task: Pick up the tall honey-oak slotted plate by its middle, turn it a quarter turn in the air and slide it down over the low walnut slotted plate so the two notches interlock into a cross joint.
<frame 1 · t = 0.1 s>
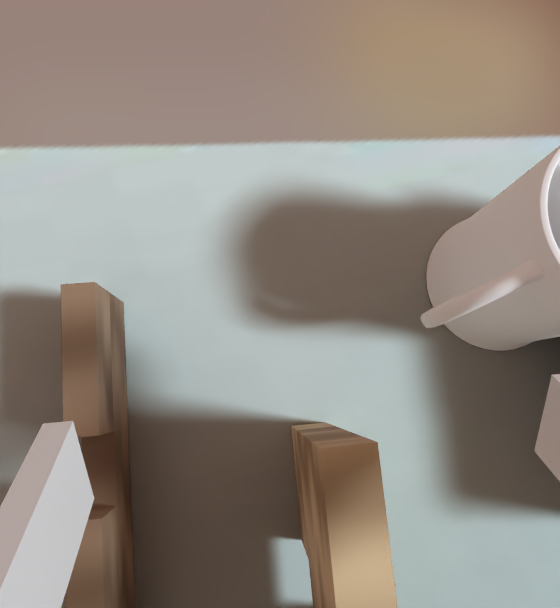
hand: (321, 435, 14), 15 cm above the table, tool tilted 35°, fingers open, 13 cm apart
cross plate: (322, 572, 27), on the table
mug: (468, 292, 31), on the table
standing plate: (114, 461, 28), on the table
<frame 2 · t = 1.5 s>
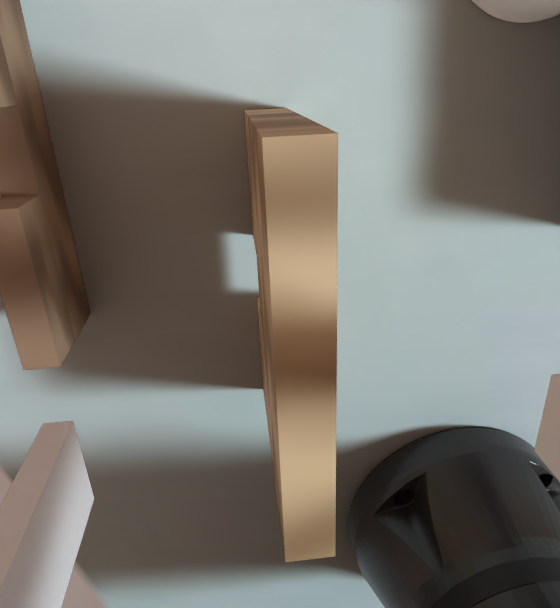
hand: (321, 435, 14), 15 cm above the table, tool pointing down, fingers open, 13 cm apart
cross plate: (273, 265, 27), on the table
standing plate: (34, 143, 23), on the table
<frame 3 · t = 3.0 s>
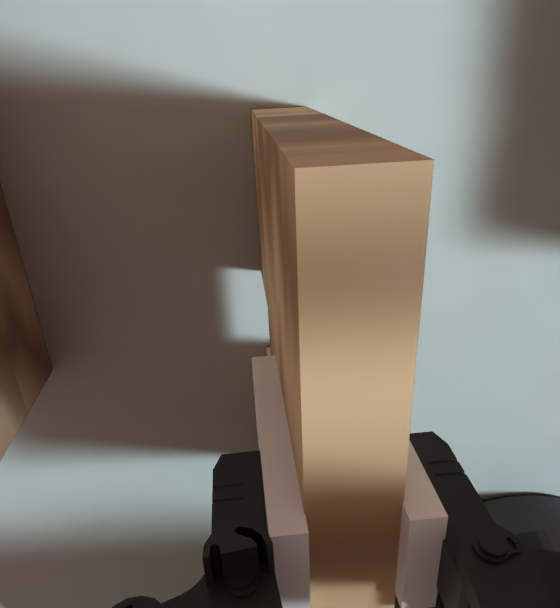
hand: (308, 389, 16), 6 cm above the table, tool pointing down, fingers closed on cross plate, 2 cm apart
cross plate: (286, 308, 21), on the table, touching gripper
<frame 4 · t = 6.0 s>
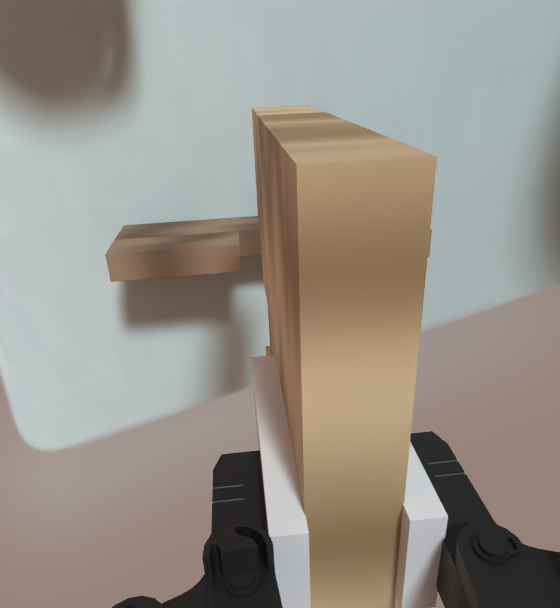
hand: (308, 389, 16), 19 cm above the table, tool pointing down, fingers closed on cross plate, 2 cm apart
cross plate: (286, 307, 21), point 13 cm above the table, touching gripper
standing plate: (265, 227, 33), on the table
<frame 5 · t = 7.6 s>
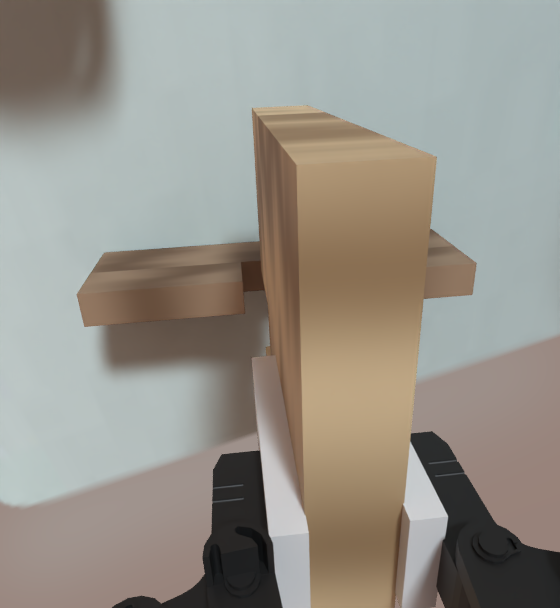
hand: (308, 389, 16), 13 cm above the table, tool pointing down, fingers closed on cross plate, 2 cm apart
cross plate: (286, 308, 21), point 7 cm above the table, touching gripper
standing plate: (272, 254, 28), on the table
when the fingers open (7 cm above the table, at t = 9.0 s): cross plate drops 1 cm, on the table.
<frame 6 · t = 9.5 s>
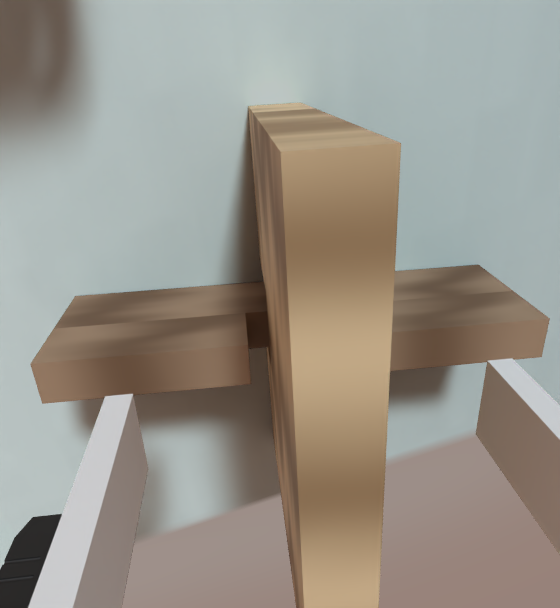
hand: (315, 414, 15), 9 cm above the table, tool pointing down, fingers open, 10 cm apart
cross plate: (284, 295, 22), on the table
standing plate: (283, 296, 22), on the table
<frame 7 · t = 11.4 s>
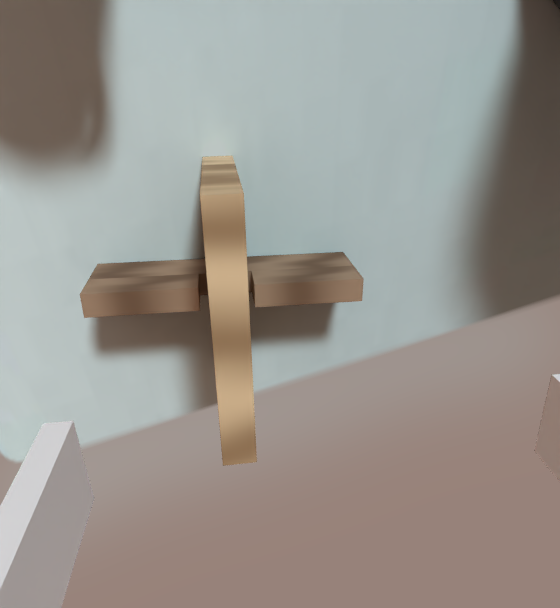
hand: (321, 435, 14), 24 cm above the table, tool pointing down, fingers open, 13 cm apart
cross plate: (225, 267, 37), on the table
standing plate: (224, 268, 37), on the table
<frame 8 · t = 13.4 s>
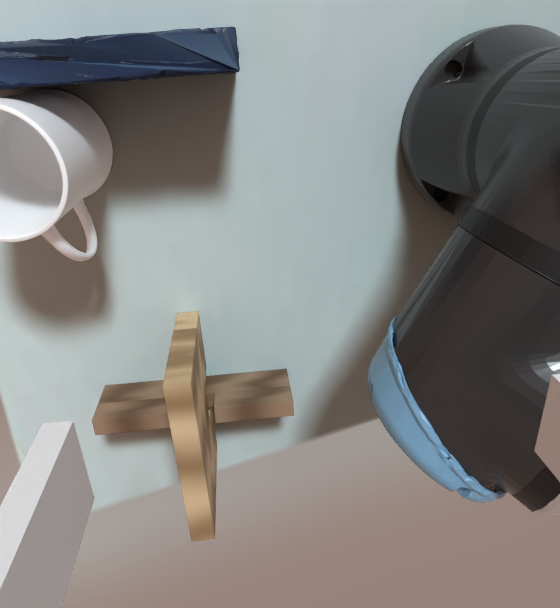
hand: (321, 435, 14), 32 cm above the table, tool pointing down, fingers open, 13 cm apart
cross plate: (198, 383, 50), on the table
vhs cassette tape: (114, 62, 38), on the table
mug: (68, 166, 40), on the table
standing plate: (197, 383, 50), on the table
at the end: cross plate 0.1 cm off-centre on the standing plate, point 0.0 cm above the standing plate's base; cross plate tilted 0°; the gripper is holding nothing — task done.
